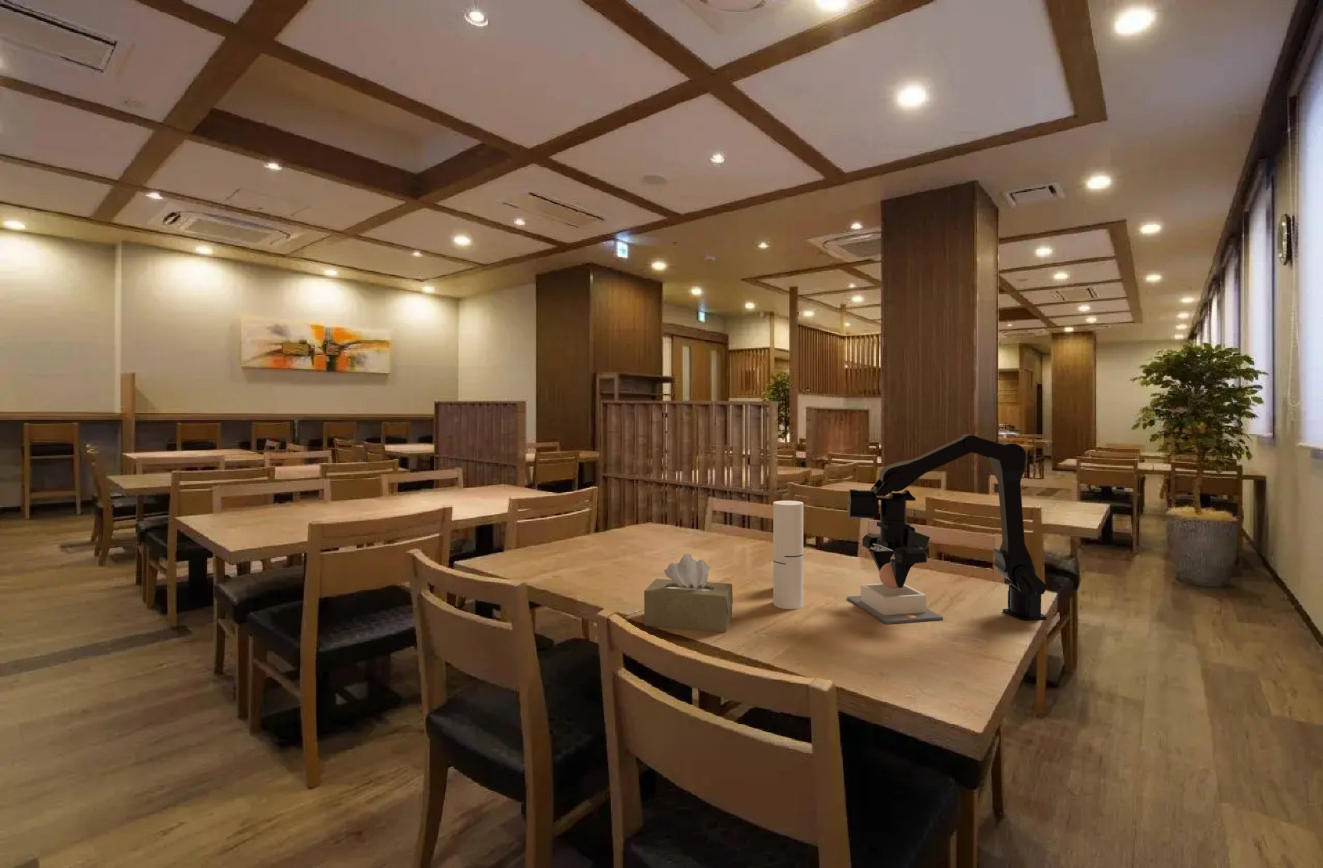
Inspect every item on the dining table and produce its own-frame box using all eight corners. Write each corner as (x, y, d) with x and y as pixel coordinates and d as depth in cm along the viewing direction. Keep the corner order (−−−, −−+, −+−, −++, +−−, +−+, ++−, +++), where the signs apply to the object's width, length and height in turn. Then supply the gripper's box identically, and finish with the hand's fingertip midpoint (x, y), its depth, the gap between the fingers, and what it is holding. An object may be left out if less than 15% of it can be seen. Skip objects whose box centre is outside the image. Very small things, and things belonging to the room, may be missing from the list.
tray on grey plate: (943, 619, 136) (943, 599, 136) (885, 623, 134) (886, 603, 134) (898, 595, 154) (898, 577, 154) (847, 599, 152) (847, 580, 151)
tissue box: (642, 626, 134) (642, 555, 133) (654, 611, 144) (654, 545, 143) (727, 633, 129) (727, 560, 129) (733, 618, 139) (733, 550, 138)
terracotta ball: (911, 591, 141) (911, 565, 141) (887, 592, 140) (888, 567, 140) (897, 583, 147) (897, 559, 147) (874, 585, 146) (874, 560, 146)
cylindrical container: (803, 610, 144) (803, 505, 143) (773, 608, 145) (773, 504, 144) (802, 600, 150) (802, 500, 150) (773, 599, 152) (773, 500, 151)
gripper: (949, 524, 135) (948, 593, 136) (901, 511, 154) (901, 571, 154) (903, 526, 133) (903, 596, 134) (861, 512, 152) (861, 574, 152)
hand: (892, 583), depth 144 cm, fingers closed on terracotta ball, 6 cm apart
